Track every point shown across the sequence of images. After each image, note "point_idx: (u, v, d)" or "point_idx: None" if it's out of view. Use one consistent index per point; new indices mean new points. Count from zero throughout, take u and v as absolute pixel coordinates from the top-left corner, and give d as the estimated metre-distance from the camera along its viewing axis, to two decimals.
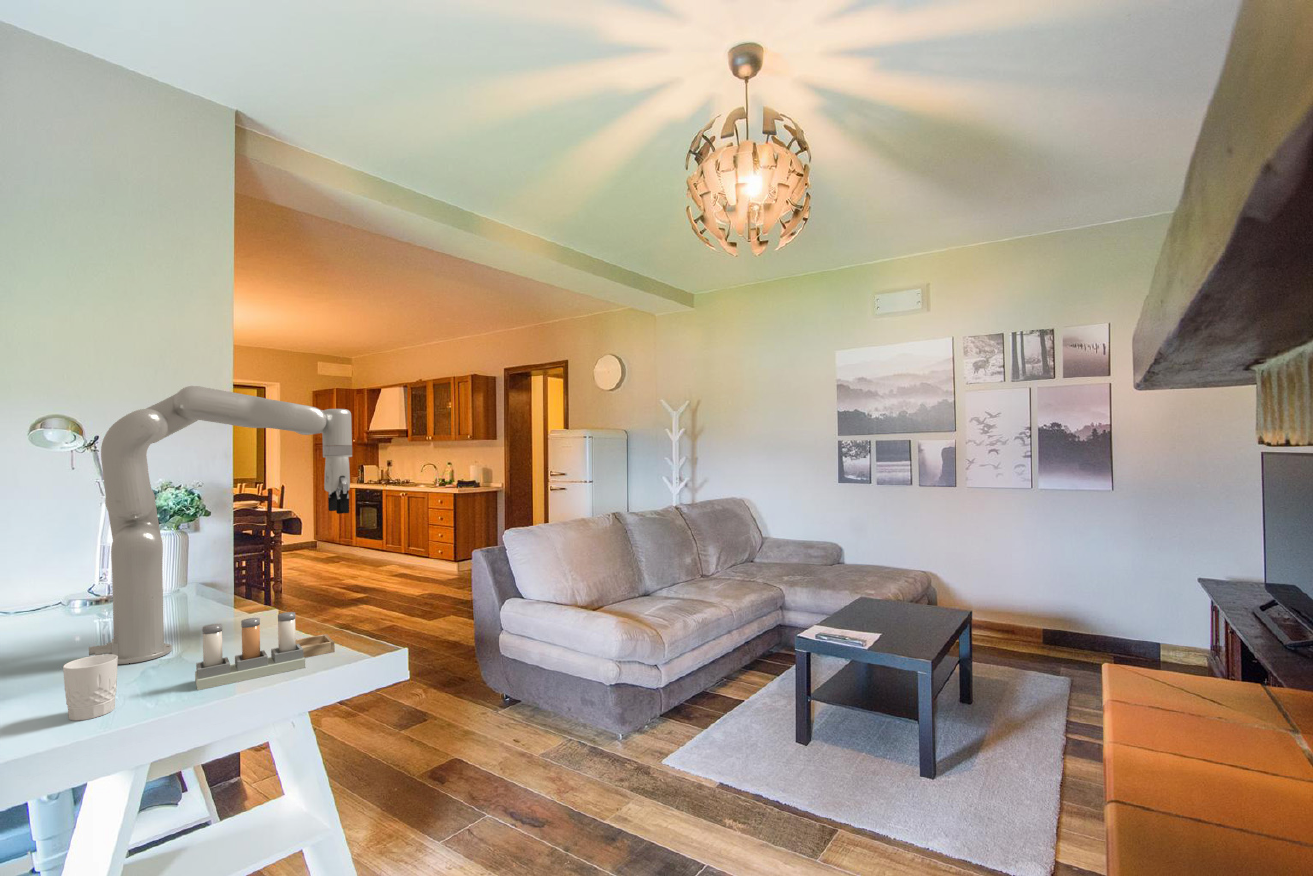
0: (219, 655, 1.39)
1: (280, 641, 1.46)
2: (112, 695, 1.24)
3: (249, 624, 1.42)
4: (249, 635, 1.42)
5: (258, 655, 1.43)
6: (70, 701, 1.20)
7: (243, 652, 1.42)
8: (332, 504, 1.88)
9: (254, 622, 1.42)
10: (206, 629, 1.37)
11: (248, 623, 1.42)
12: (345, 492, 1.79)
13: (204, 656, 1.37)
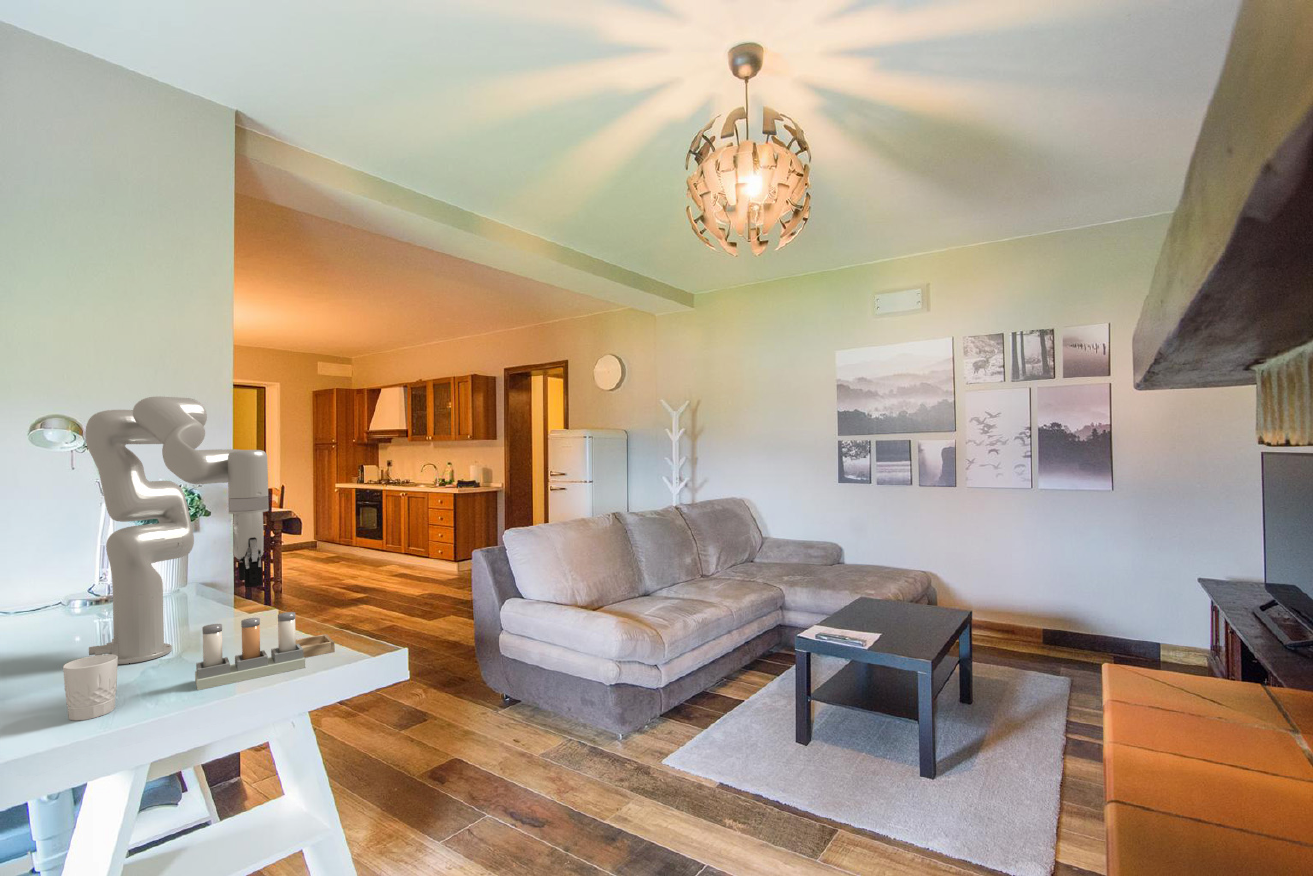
0: (219, 655, 1.39)
1: (280, 641, 1.46)
2: (112, 695, 1.24)
3: (249, 624, 1.42)
4: (249, 635, 1.42)
5: (258, 655, 1.43)
6: (70, 701, 1.20)
7: (243, 652, 1.42)
8: (244, 571, 1.46)
9: (254, 622, 1.42)
10: (206, 629, 1.37)
11: (248, 623, 1.42)
12: (255, 560, 1.38)
13: (204, 656, 1.37)
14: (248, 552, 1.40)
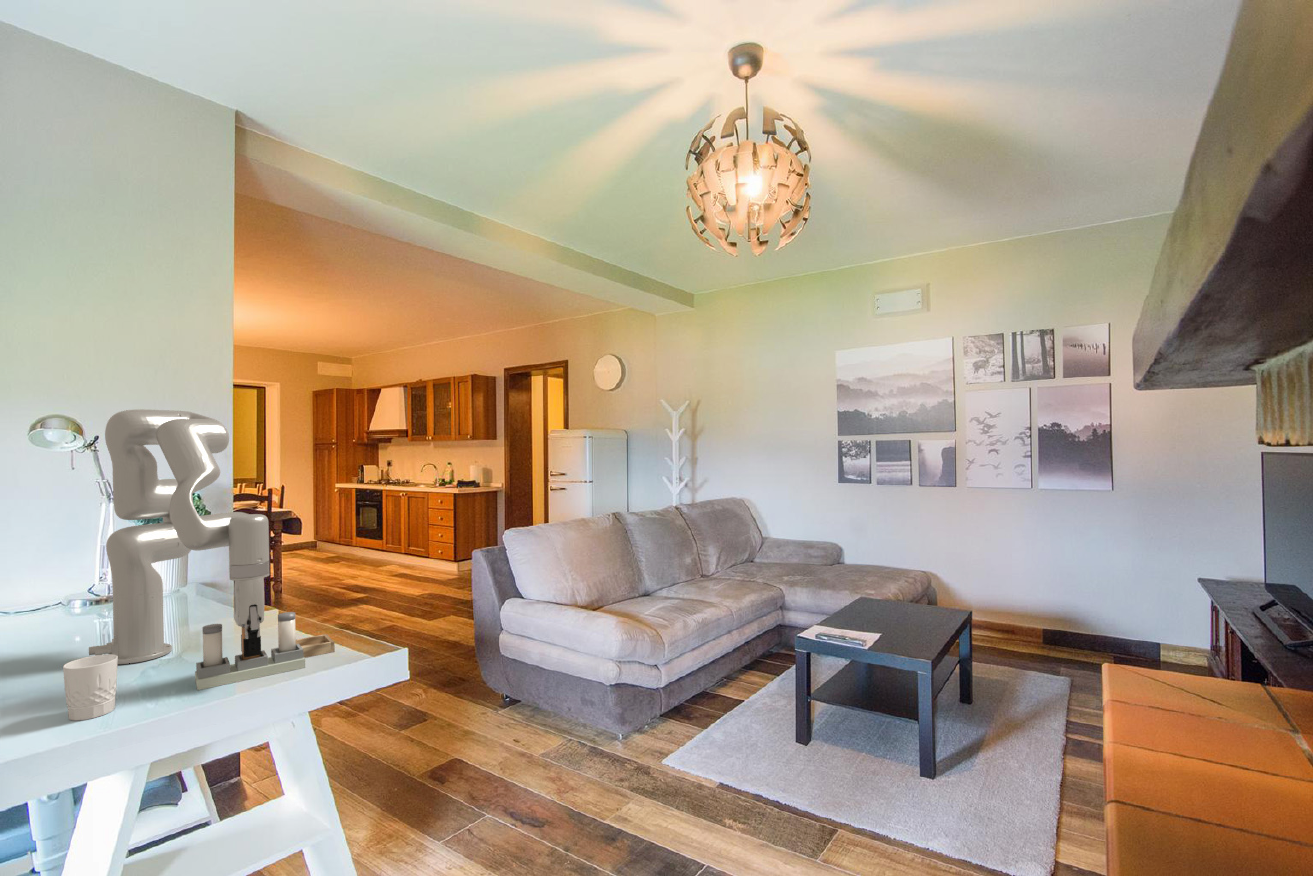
0: (219, 655, 1.39)
1: (280, 641, 1.46)
2: (112, 695, 1.24)
3: None
4: None
5: (258, 655, 1.43)
6: (70, 701, 1.20)
7: (243, 652, 1.42)
8: None
9: None
10: (206, 629, 1.37)
11: (248, 623, 1.42)
12: (254, 632, 1.40)
13: (204, 656, 1.37)
14: (249, 619, 1.40)
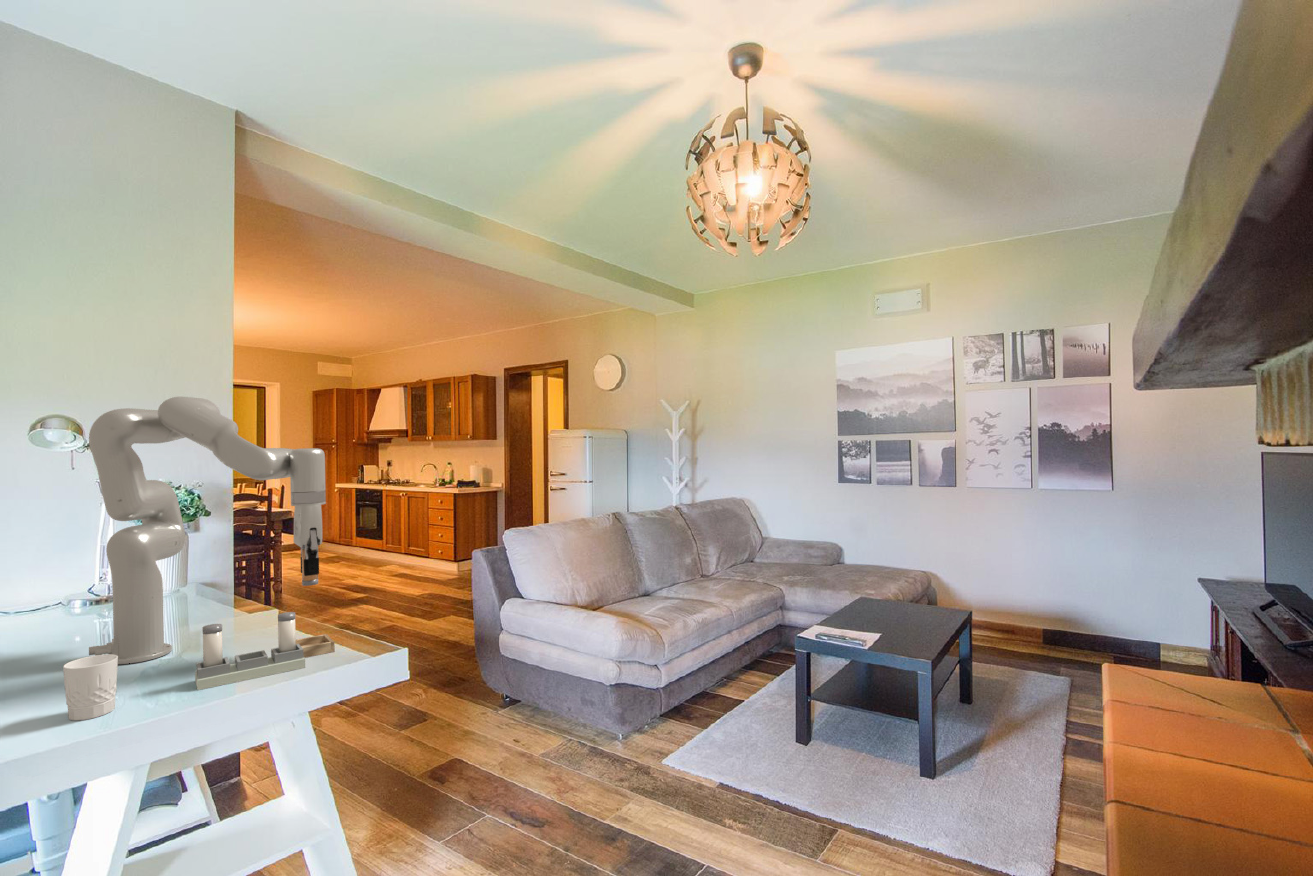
0: (219, 655, 1.39)
1: (280, 641, 1.46)
2: (112, 695, 1.24)
3: None
4: None
5: (316, 575, 1.58)
6: (70, 701, 1.20)
7: (303, 572, 1.57)
8: None
9: None
10: (206, 629, 1.37)
11: (308, 545, 1.57)
12: (314, 552, 1.55)
13: (204, 656, 1.37)
14: (309, 541, 1.55)
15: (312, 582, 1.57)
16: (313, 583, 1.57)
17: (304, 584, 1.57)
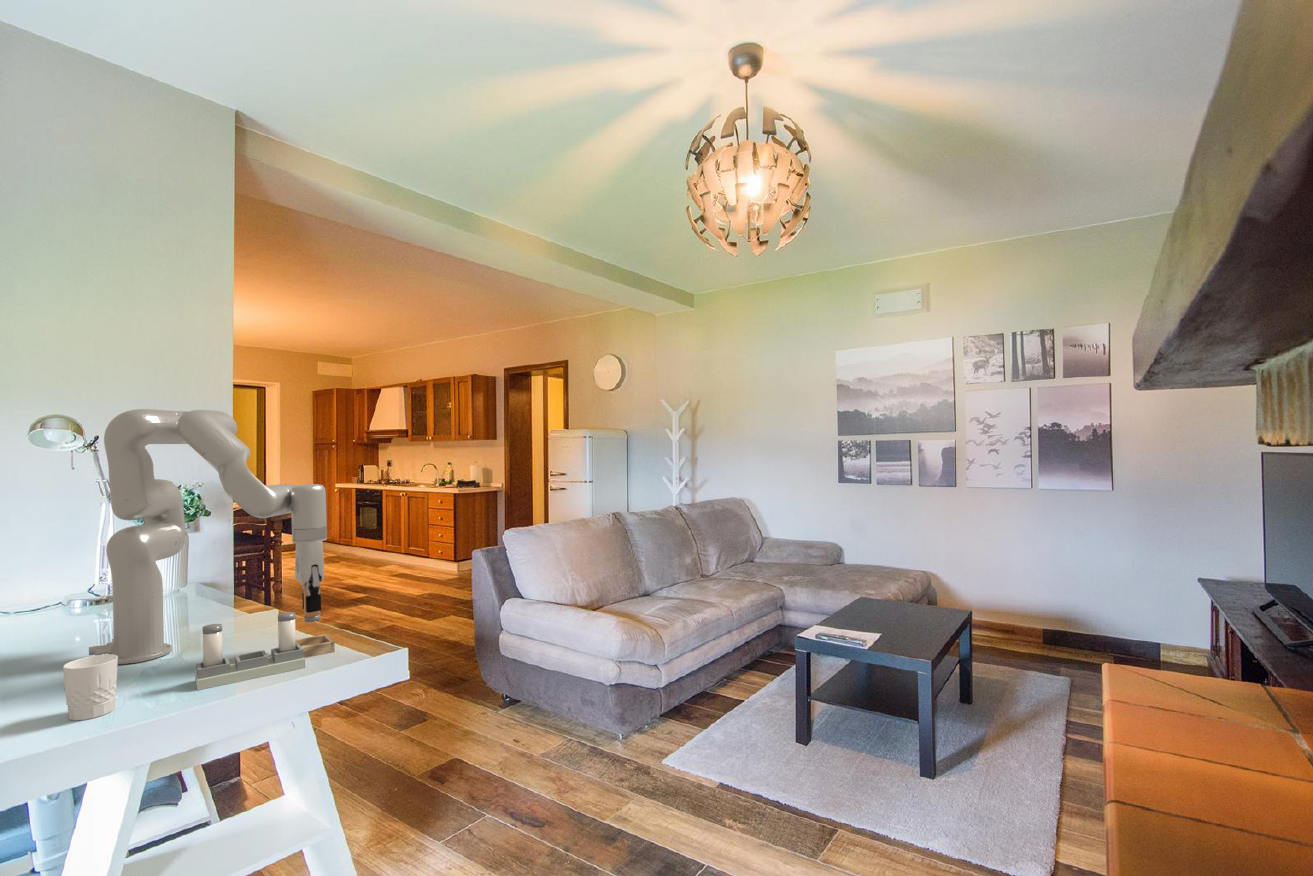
0: (219, 655, 1.39)
1: (280, 641, 1.46)
2: (112, 695, 1.24)
3: None
4: None
5: (318, 611, 1.58)
6: (70, 701, 1.20)
7: (305, 608, 1.57)
8: None
9: None
10: (206, 629, 1.37)
11: (309, 582, 1.57)
12: (315, 589, 1.55)
13: (204, 656, 1.37)
14: (310, 577, 1.55)
15: (314, 618, 1.57)
16: (315, 619, 1.57)
17: (306, 620, 1.57)
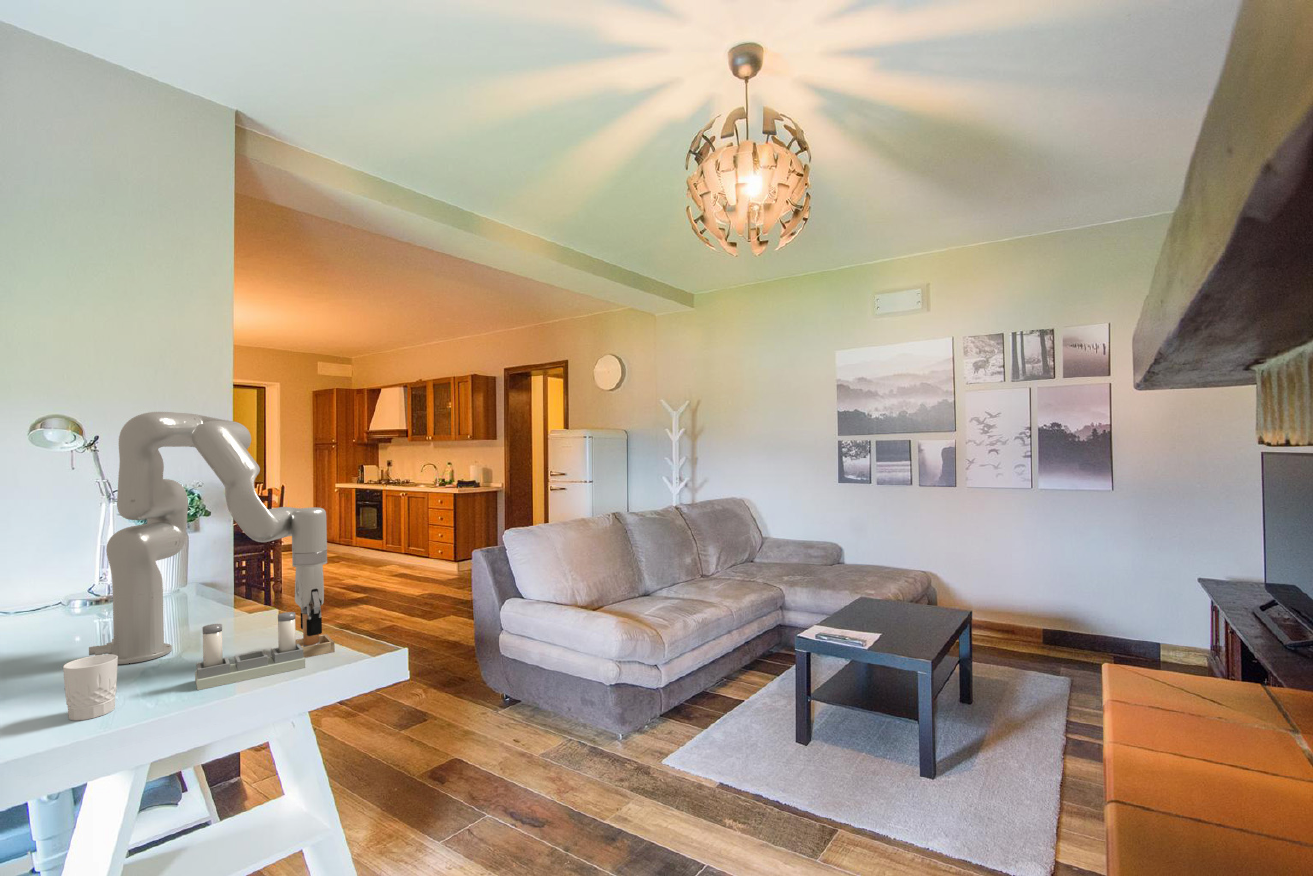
0: (219, 655, 1.39)
1: (280, 641, 1.46)
2: (112, 695, 1.24)
3: None
4: None
5: (317, 639, 1.58)
6: (70, 701, 1.20)
7: (304, 636, 1.57)
8: None
9: None
10: (206, 629, 1.37)
11: None
12: (317, 612, 1.53)
13: (204, 656, 1.37)
14: (310, 602, 1.55)
15: None
16: None
17: None
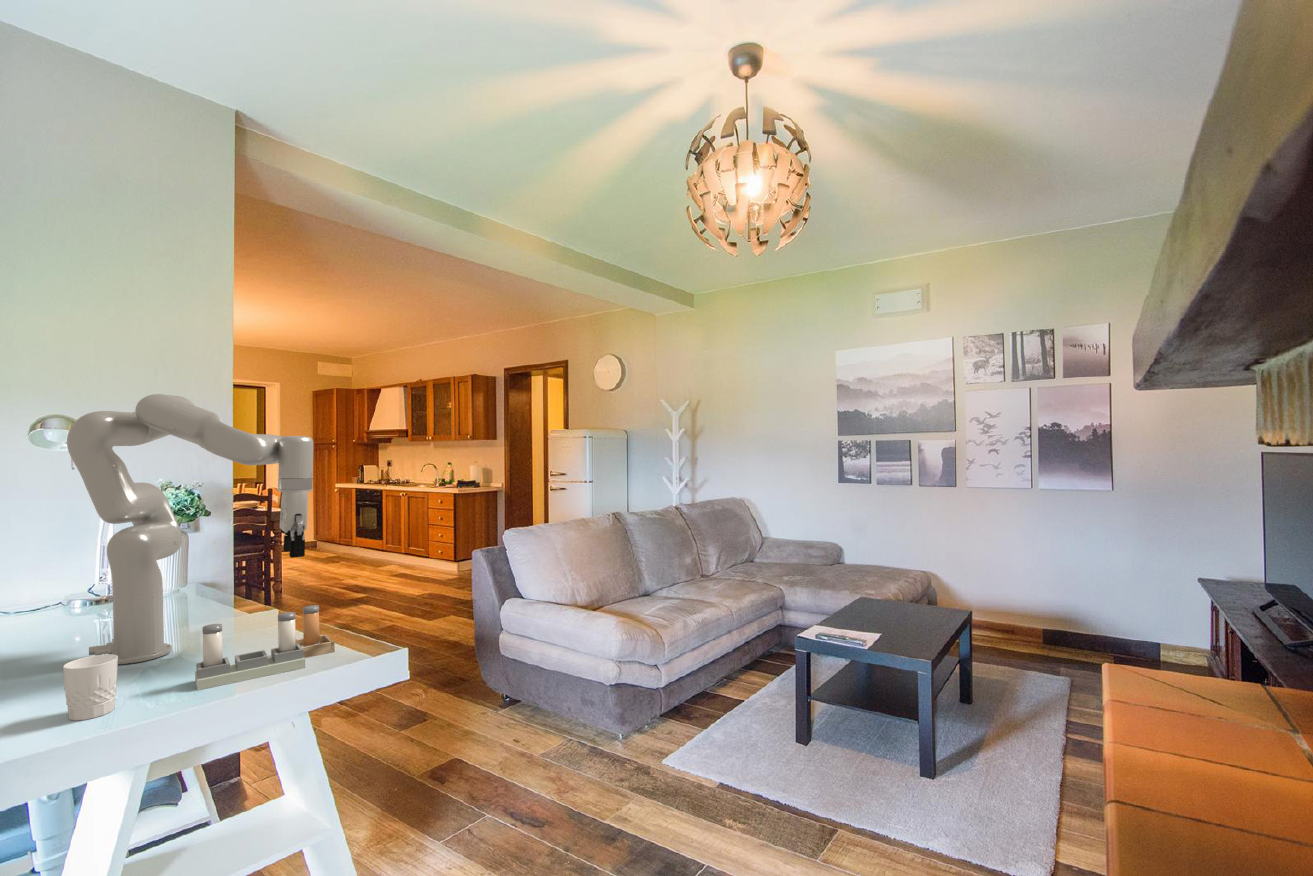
0: (219, 655, 1.39)
1: (280, 641, 1.46)
2: (112, 695, 1.24)
3: (310, 611, 1.57)
4: (310, 621, 1.57)
5: (318, 639, 1.58)
6: (70, 701, 1.20)
7: (304, 636, 1.57)
8: (288, 544, 1.65)
9: (314, 609, 1.57)
10: (206, 629, 1.37)
11: (309, 610, 1.57)
12: (300, 533, 1.55)
13: (204, 656, 1.37)
14: (293, 526, 1.58)
15: None
16: None
17: None
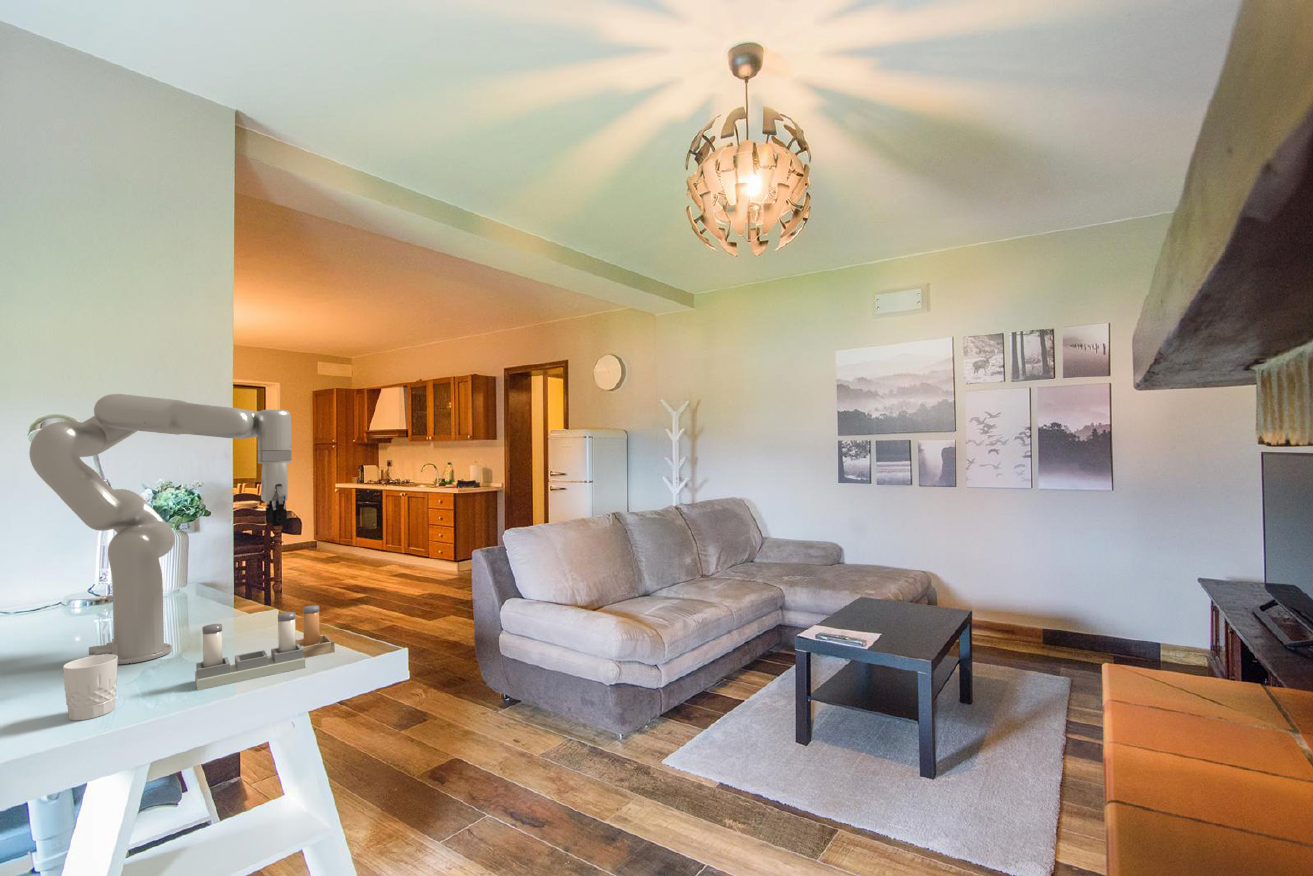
0: (219, 655, 1.39)
1: (280, 641, 1.46)
2: (112, 695, 1.24)
3: (310, 611, 1.57)
4: (310, 621, 1.57)
5: (318, 639, 1.58)
6: (70, 701, 1.20)
7: (305, 636, 1.57)
8: (270, 515, 1.70)
9: (315, 609, 1.57)
10: (206, 629, 1.37)
11: (309, 610, 1.57)
12: (281, 502, 1.61)
13: (204, 656, 1.37)
14: (275, 497, 1.64)
15: None
16: None
17: None
